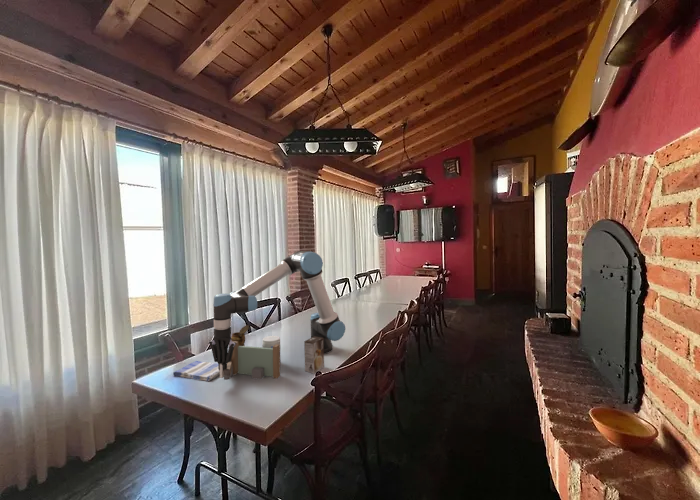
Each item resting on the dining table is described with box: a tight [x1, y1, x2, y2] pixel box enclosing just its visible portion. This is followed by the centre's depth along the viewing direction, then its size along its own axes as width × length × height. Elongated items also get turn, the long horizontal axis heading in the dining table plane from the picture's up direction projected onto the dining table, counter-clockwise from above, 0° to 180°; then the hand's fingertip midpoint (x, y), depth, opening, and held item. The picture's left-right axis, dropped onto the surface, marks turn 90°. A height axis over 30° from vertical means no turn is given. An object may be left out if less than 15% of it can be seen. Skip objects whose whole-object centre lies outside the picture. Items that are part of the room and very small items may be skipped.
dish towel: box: [173, 360, 220, 382], centre depth 159 cm, size 17×24×3 cm
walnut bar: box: [223, 359, 233, 381], centre depth 146 cm, size 16×3×4 cm, turn 16°
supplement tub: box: [261, 335, 281, 348], centre depth 166 cm, size 10×10×15 cm
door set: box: [228, 341, 281, 380], centre depth 153 cm, size 26×6×16 cm, turn 79°
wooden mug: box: [231, 324, 250, 346], centre depth 184 cm, size 9×14×18 cm, turn 57°
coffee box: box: [303, 336, 325, 374], centre depth 160 cm, size 9×6×16 cm
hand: (222, 376), depth 143 cm, fingers closed
